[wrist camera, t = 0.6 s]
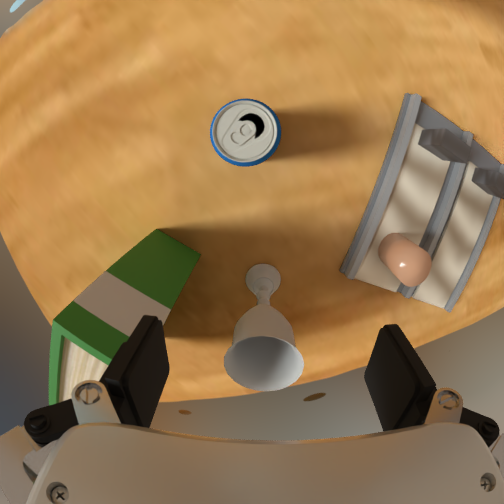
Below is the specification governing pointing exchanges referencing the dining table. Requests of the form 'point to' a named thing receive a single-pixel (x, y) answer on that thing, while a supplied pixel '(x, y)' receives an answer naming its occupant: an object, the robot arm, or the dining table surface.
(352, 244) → the track board
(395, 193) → the strip
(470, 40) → the dining table surface
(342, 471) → the robot arm
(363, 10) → the dining table surface
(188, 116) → the dining table surface
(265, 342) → the chalice
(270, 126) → the beverage can
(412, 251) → the light brown rounded piece
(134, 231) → the dining table surface
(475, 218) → the strip
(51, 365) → the hardback book
